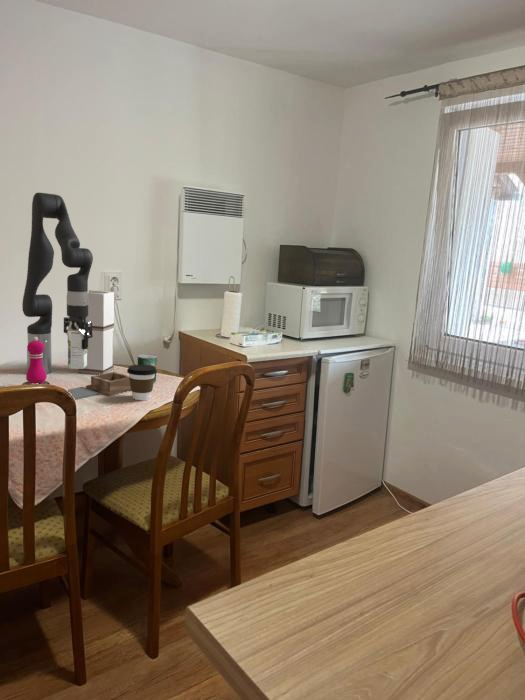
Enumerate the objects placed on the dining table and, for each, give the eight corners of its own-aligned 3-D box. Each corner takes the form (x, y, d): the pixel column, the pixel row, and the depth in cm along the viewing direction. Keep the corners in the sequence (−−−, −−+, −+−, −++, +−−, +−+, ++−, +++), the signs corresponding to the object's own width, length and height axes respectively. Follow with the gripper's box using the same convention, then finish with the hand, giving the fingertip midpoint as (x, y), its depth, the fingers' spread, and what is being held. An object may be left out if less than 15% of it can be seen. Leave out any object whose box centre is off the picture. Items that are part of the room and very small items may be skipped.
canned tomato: (133, 381, 223) (133, 355, 221) (145, 377, 230) (145, 353, 228) (147, 384, 220) (148, 358, 217) (160, 381, 226) (160, 355, 224)
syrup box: (72, 365, 202) (71, 327, 199) (87, 365, 202) (87, 328, 199) (67, 368, 196) (67, 330, 193) (84, 369, 197) (83, 330, 194)
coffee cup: (124, 395, 204) (125, 364, 201) (153, 393, 208) (154, 363, 205) (128, 403, 194) (129, 371, 191) (158, 401, 198) (159, 370, 196)
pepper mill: (50, 386, 209) (49, 336, 205) (40, 391, 202) (39, 339, 198) (32, 384, 209) (31, 334, 205) (22, 389, 202) (21, 337, 198)
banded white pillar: (113, 369, 240) (114, 292, 233) (103, 375, 230) (103, 294, 223) (89, 367, 242) (89, 290, 235) (78, 372, 232) (78, 292, 225)
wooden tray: (86, 388, 209) (86, 376, 208) (114, 382, 220) (115, 370, 219) (109, 396, 201) (109, 383, 200) (137, 389, 212) (138, 377, 211)
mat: (56, 393, 200) (56, 392, 200) (81, 388, 209) (81, 386, 209) (74, 400, 194) (74, 398, 194) (99, 394, 202) (99, 392, 202)
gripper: (56, 301, 195) (57, 345, 199) (80, 306, 187) (81, 351, 191) (74, 300, 201) (74, 342, 205) (98, 305, 193) (98, 349, 197)
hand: (77, 347), depth 198 cm, fingers closed on syrup box, 8 cm apart
